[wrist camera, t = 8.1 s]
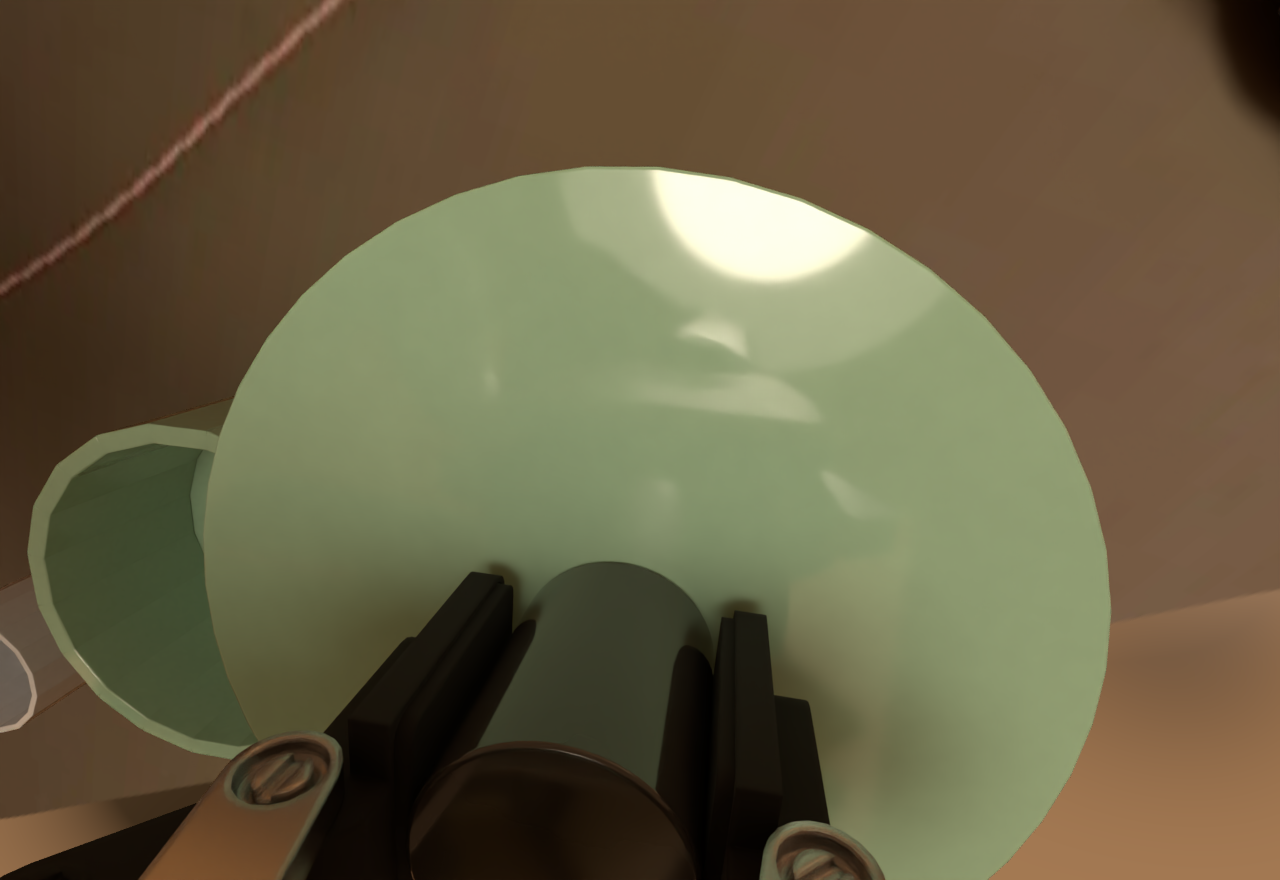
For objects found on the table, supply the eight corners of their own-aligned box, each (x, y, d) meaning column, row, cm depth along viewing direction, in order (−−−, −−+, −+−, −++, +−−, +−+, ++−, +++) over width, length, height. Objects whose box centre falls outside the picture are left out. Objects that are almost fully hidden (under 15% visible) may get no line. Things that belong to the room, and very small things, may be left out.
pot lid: (271, 860, 16) (39, 1163, 11) (204, 139, 12) (-261, 34, 6) (963, 1003, 14) (1100, 1449, 9) (1210, 217, 10) (1799, 166, 4)
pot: (201, 630, 38) (61, 730, 30) (169, 369, 34) (-4, 405, 26) (455, 669, 37) (378, 786, 29) (456, 402, 33) (367, 450, 24)
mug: (147, 560, 38) (22, 626, 31) (161, 659, 39) (46, 741, 33) (10, 540, 38) (-140, 600, 32) (30, 638, 40) (-108, 714, 34)
